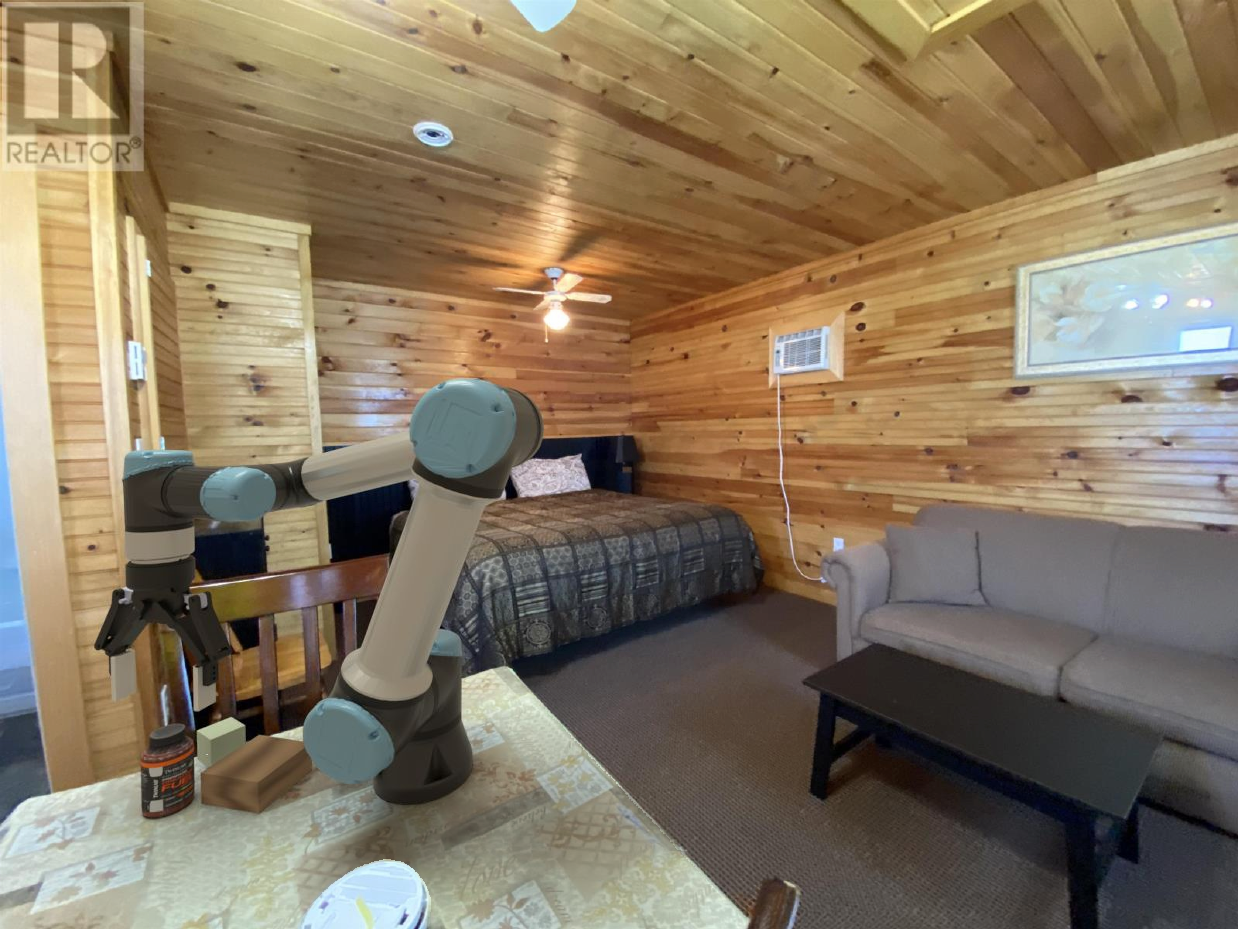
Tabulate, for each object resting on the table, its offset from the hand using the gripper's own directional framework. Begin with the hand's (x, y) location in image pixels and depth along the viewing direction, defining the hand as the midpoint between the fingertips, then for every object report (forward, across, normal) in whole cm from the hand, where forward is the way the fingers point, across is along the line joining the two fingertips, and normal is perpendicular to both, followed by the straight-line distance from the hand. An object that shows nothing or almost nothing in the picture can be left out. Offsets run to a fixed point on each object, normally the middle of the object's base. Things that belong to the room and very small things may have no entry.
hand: (164, 701), depth 76 cm
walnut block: (+16, -10, -6) cm, 20 cm away
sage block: (+16, +2, -12) cm, 20 cm away
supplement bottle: (+16, -1, 0) cm, 16 cm away
